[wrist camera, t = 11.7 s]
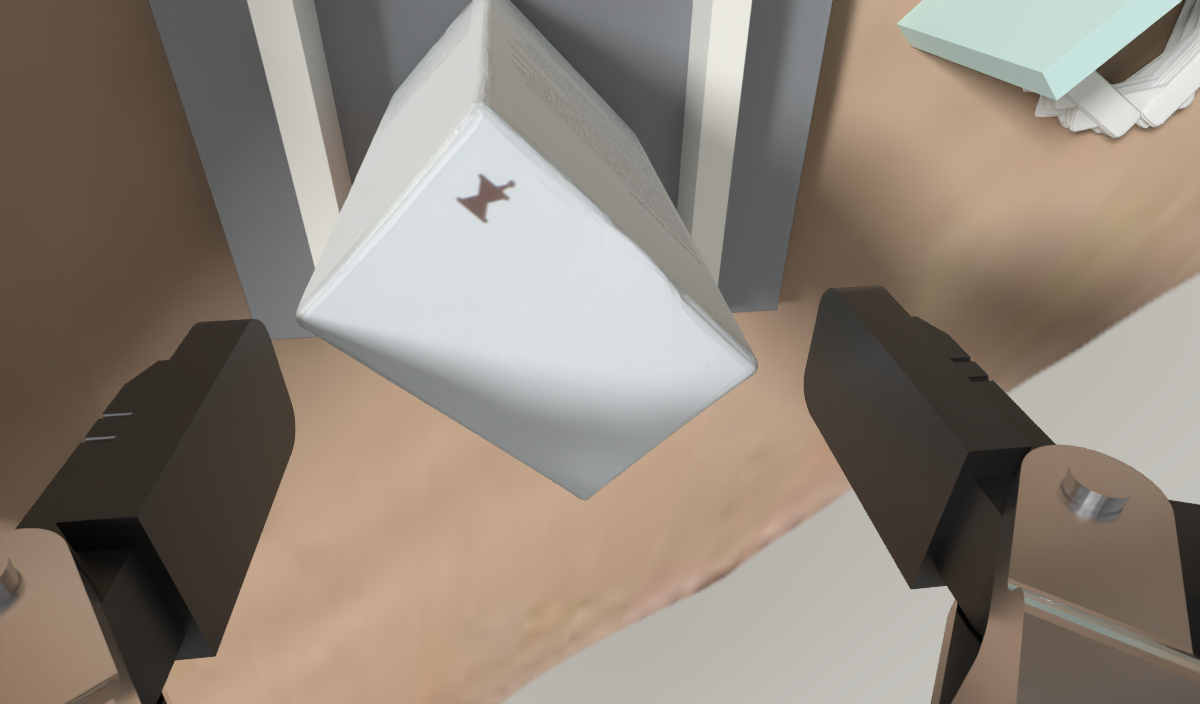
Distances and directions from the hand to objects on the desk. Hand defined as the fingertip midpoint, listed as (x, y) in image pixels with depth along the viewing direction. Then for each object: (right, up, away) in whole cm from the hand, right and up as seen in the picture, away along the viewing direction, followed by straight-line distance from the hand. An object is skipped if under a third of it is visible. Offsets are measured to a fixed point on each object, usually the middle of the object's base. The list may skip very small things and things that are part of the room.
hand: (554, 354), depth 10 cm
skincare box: (-2, +7, +10) cm, 12 cm away
